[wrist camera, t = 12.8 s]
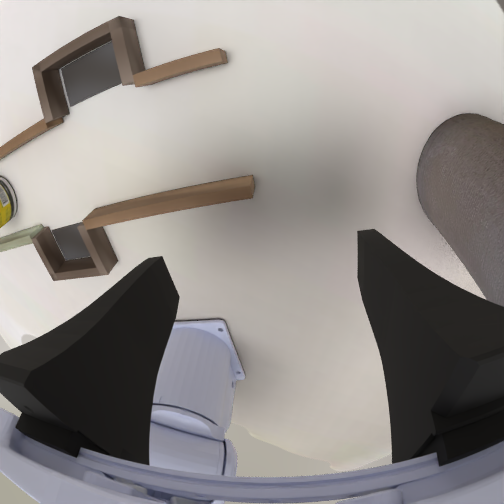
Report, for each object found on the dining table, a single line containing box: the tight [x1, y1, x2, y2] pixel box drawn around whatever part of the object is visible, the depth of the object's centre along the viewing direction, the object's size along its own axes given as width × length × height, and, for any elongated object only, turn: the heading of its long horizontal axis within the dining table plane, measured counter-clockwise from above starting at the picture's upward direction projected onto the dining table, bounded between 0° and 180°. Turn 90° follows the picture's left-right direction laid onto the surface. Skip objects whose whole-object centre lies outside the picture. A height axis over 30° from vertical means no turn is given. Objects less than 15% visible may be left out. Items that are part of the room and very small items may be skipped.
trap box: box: [0, 16, 255, 281], centre depth 19 cm, size 18×32×2 cm, turn 101°
